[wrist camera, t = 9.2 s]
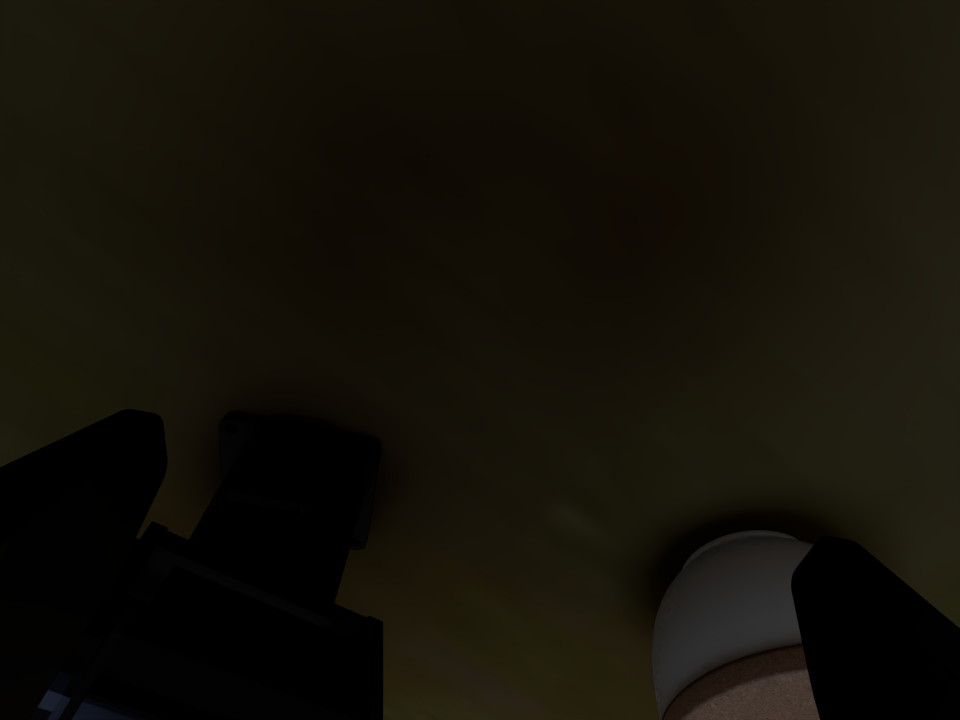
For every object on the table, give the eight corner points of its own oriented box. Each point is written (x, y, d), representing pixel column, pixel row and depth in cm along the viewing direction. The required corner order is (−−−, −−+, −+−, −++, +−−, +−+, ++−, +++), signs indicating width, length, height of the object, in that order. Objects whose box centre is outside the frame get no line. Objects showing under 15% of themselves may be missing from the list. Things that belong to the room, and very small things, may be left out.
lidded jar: (632, 645, 32) (672, 867, 24) (627, 501, 26) (677, 730, 18) (847, 635, 30) (965, 866, 22) (890, 481, 25) (1068, 717, 17)
